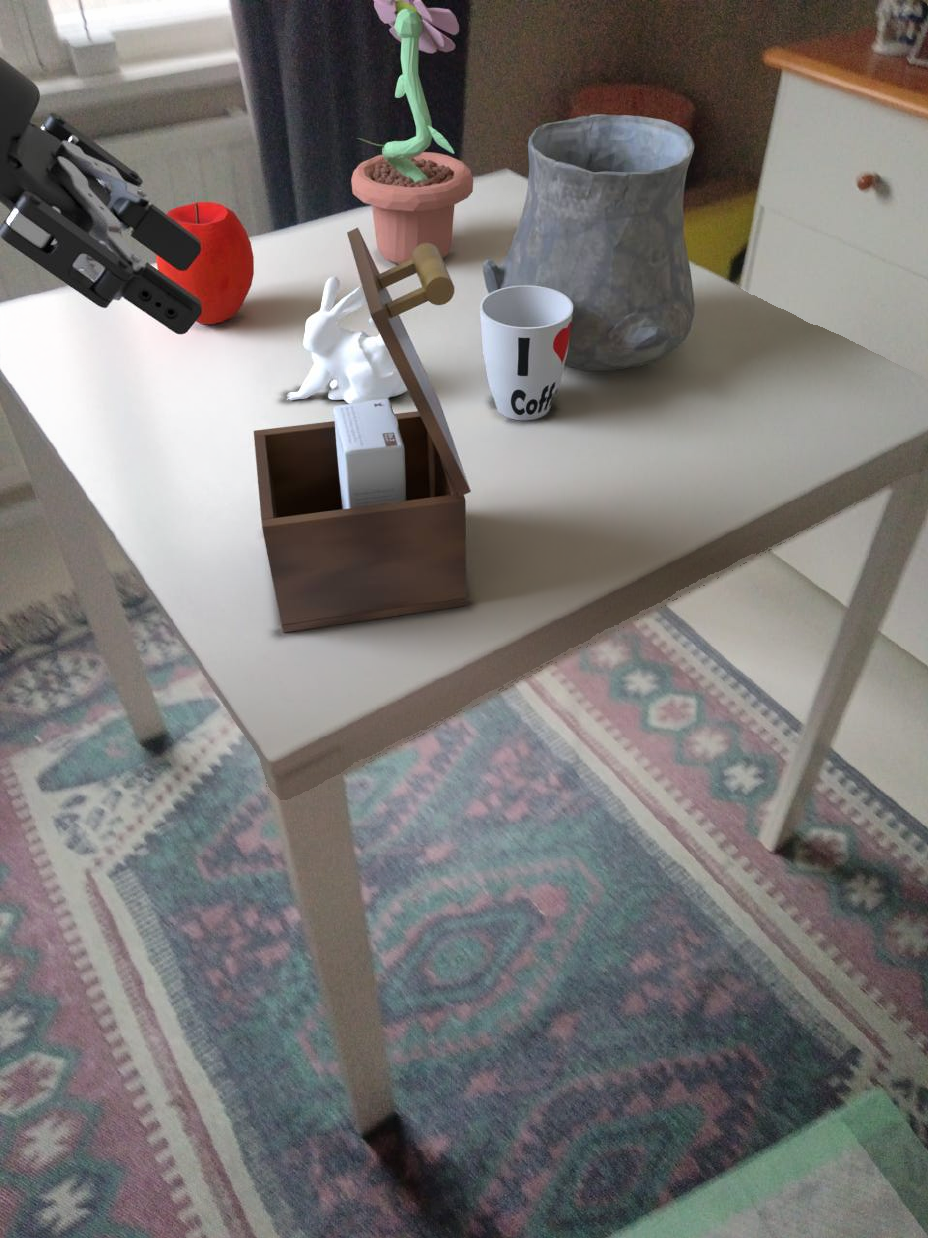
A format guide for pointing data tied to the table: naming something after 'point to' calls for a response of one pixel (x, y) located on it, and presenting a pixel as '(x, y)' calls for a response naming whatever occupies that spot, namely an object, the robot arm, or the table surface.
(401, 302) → the lid
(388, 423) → the cosmetic box
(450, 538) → the chest
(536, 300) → the cup
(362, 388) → the rabbit figurine
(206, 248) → the apple
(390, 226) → the decorative flower
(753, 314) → the table surface
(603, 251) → the vessel
